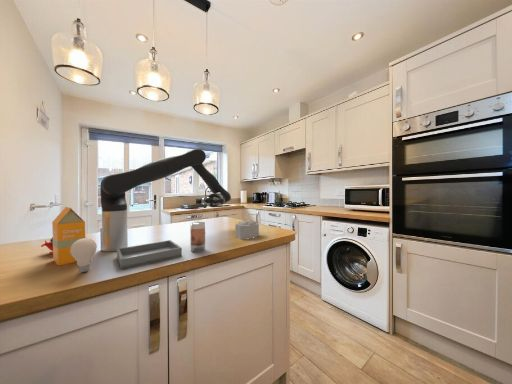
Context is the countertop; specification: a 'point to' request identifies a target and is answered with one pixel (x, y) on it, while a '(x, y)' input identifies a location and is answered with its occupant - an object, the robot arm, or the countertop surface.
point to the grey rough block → (246, 229)
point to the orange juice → (66, 235)
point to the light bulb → (83, 253)
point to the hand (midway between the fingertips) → (206, 202)
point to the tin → (197, 237)
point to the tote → (147, 254)
